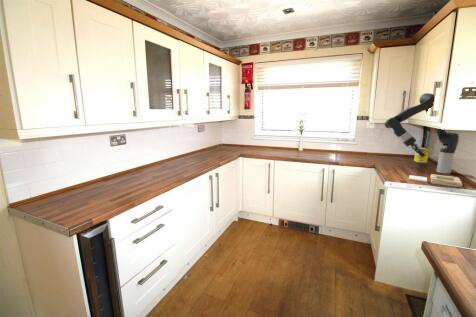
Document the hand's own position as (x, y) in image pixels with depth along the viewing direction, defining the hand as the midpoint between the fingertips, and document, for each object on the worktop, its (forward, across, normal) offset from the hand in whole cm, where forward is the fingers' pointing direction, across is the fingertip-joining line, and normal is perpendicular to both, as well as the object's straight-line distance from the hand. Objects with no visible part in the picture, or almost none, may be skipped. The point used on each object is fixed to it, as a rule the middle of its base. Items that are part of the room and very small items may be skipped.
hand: (423, 155), depth 175 cm
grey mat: (+12, 0, +14) cm, 19 cm away
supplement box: (+3, 0, +5) cm, 6 cm away
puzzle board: (+23, +3, +3) cm, 24 cm away
